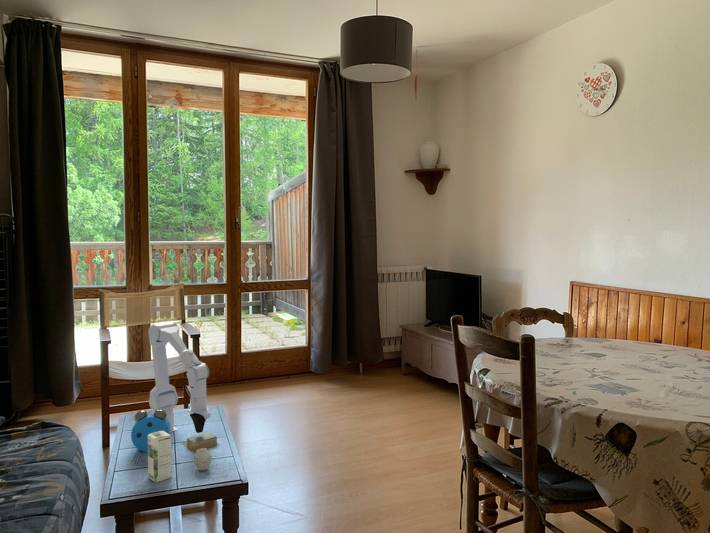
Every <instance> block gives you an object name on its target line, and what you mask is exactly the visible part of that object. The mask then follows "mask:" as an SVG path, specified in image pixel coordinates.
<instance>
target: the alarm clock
mask: <svg viewBox="0 0 710 533" xmlns="http://www.w3.org/2000/svg"><path fill="white" fill-rule="evenodd" d="M152 411H153V410H150V411H148V412H147V411H146V410H144V409H141V410H138V411H137V412H136V413H135V414H134V417H133V419H134V420H133V421H135V423H134V425H133V426H132V429H131V432H130V433H131V434H130V440H131V443H132V444H133V446H134V447H135V448H136V449H138V450H139V451H141V452H144V453H148V434H151V433H154V432H158V431H165V432H166V433H168V434H169V435H171V433H172V432H171V426H170V422H169V420H168V419H167V413H166V411H164V410H163V409H157V410H155V412H152Z"/></svg>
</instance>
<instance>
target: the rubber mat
mask: <svg viewBox="0 0 710 533" xmlns="http://www.w3.org/2000/svg"><path fill="white" fill-rule="evenodd" d="M180 444H181V445H183V446H184V447H185V448H187V449H188V450H190V451H191V452H192V453H196V451H197V450H195V451H194V450H192V449H191V448H189V447H188V446H187V440H185V441H180ZM219 445H220V443H218V442H217V444H216V445H213V446H209V447H206V448H207V449H210V448H211V447H216V446H219ZM203 449H204V448H203Z"/></svg>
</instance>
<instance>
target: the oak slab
mask: <svg viewBox="0 0 710 533" xmlns="http://www.w3.org/2000/svg"><path fill="white" fill-rule="evenodd" d="M186 441H187V446H188V447H189V448H191V449H192V450H194V451H195V450H198V449H201V448H206V447H209V446H213V445H216V444H217V443H218V437H217V435H215V434H213V433H212V432H210V431H208V432H204V433H200V434H196V435H192V436H190V437H186ZM216 446H217V445H216ZM213 447H214V446H213ZM209 448H210V447H209Z"/></svg>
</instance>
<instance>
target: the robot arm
mask: <svg viewBox="0 0 710 533" xmlns="http://www.w3.org/2000/svg"><path fill="white" fill-rule="evenodd" d="M147 331H148V338H149V339H148V340H149V345H151V351H152V352H151V354H152V362H153V372H154V381H155V382H154V383H155V385H154V387H153V388H152V389H151V390H150V391H149V399H148V404H149V405H148V406H149V407H150V409H151V411H152V412H155V410H157V409H163V410H164V411H166V413H167V419H168V420H169V422H170V426H171V432H170V433H172V432H176V431H178V430H179V429H178V428H176V427H175V422H174V421H175V419H174V418H175V417H174V415H175V414H174V408H176V405H177V404H178V400H179V397H178V394H177V391H176V387H175V386H173V385H172V384H170V377H169V376H170V375H169V367H168V358H167V344H168V343H169V345H170V346H172V348H173V349H174V350H175V351H176V352H177V353H178V355H179V356H178V361H179V362H180V363H181V365H182V367H184V369H185V371H186V377H187V380H188V385H189V387H190V392H189V393H190V403H188V406H187V407H188V408H187V409H188V410H187V412H188V413H189V417H190V418H191V420H192V422H193V425H194V430H195V432H196V434H199V433H200V434H201V433H203V432H204V428H205V423H206V420H207V419H210V418H211V412H210V411H209V408H208V405H207V404H208V402H207V378H209V376H210V369H209V367H208V365H207V364H206V363H205V362H202V361H200V359H199V358H198V357H197V355H196V354H195V352H193V350H192V349H188V348H187V345H186V344H185V342H184V341H183V339H182V337H181V336H180V327H179V325H178V324H177V322H176V321H173V320H172V321H168V322H162V323H156V324H151V325H150V326H149V328H148V330H147Z"/></svg>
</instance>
